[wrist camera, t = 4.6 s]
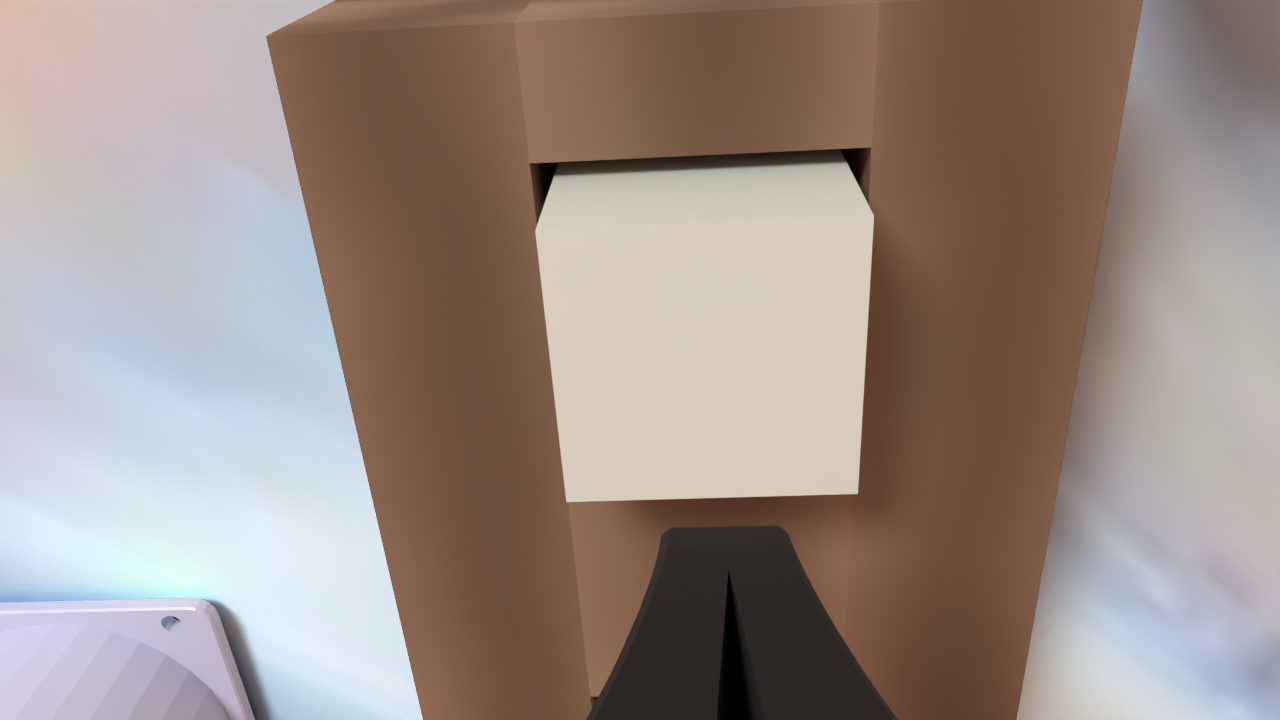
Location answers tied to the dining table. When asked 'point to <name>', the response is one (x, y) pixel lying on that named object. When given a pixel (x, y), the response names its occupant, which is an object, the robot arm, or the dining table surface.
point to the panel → (691, 126)
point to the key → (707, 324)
